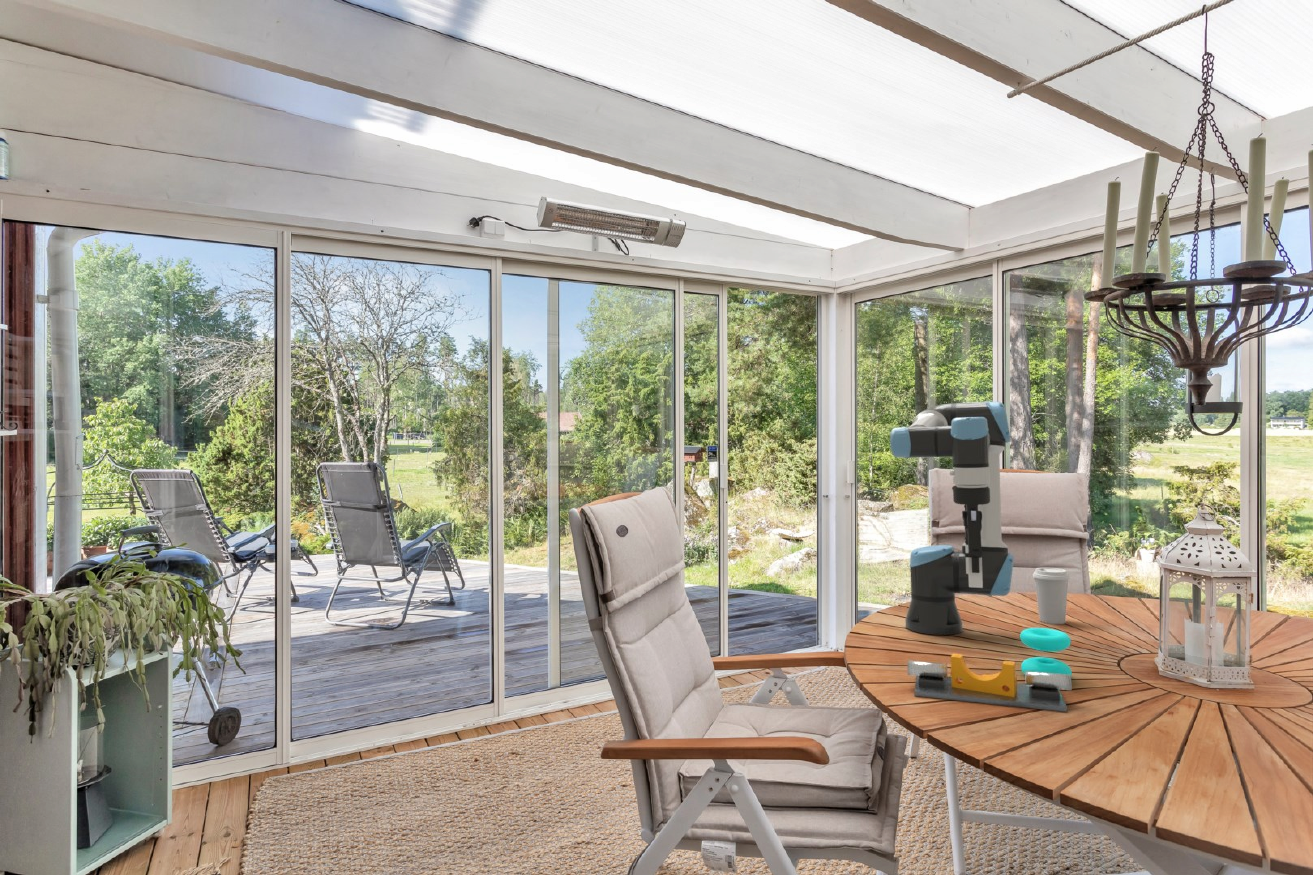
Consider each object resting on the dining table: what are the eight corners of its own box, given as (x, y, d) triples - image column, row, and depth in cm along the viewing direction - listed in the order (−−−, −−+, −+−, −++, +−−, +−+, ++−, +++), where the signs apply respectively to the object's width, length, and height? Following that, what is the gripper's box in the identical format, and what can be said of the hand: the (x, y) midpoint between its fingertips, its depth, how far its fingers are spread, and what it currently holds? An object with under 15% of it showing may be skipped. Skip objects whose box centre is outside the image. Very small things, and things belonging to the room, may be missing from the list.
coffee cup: (1036, 615, 211) (1034, 566, 212) (1073, 619, 206) (1071, 568, 206) (1031, 622, 204) (1029, 571, 204) (1069, 627, 198) (1067, 573, 198)
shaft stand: (909, 677, 159) (908, 652, 159) (1066, 692, 148) (1065, 666, 148) (907, 694, 148) (906, 668, 148) (1076, 712, 136) (1075, 684, 137)
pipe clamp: (1017, 690, 146) (1016, 659, 147) (1014, 697, 143) (1013, 665, 143) (955, 680, 153) (955, 651, 153) (951, 686, 150) (950, 656, 150)
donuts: (1066, 628, 161) (1074, 639, 151) (1067, 671, 161) (1075, 686, 151) (1017, 624, 164) (1022, 636, 155) (1018, 667, 164) (1023, 681, 155)
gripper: (951, 480, 170) (954, 567, 171) (954, 491, 147) (957, 592, 147) (985, 480, 167) (988, 569, 168) (994, 491, 144) (997, 594, 145)
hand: (974, 580), depth 158 cm, fingers open, 13 cm apart
